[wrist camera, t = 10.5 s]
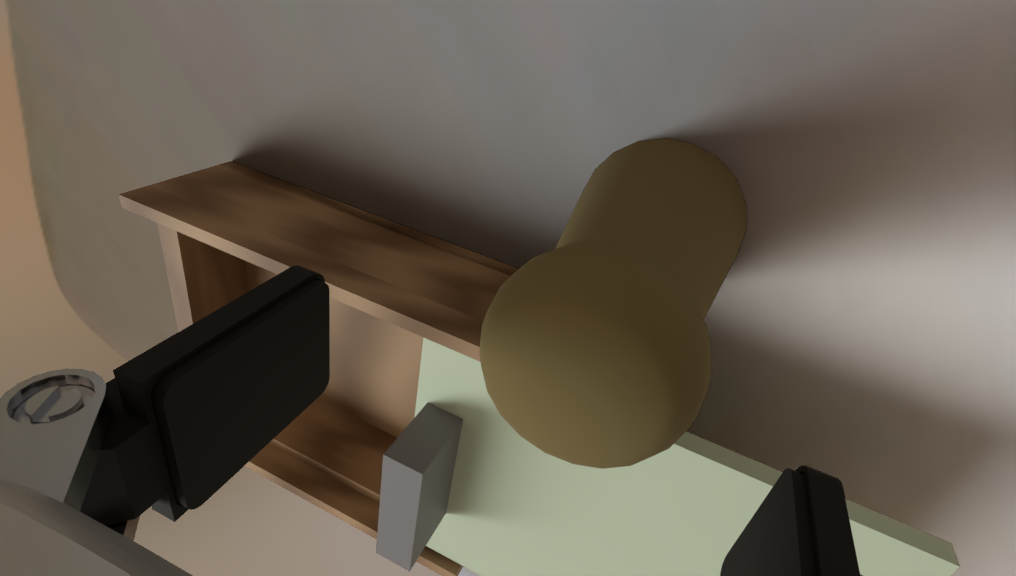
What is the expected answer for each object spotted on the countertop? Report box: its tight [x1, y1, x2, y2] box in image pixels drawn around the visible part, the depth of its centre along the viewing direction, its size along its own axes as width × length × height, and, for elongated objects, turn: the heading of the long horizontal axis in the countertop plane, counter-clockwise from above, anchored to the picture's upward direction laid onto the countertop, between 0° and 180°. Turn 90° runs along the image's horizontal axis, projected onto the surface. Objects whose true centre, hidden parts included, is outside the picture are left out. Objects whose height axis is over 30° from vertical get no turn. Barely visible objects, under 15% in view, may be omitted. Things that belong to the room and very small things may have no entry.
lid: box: [376, 337, 960, 576], centre depth 20 cm, size 18×12×4 cm
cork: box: [479, 138, 746, 469], centre depth 15 cm, size 6×6×11 cm
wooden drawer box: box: [119, 161, 519, 576], centre depth 26 cm, size 18×14×6 cm
